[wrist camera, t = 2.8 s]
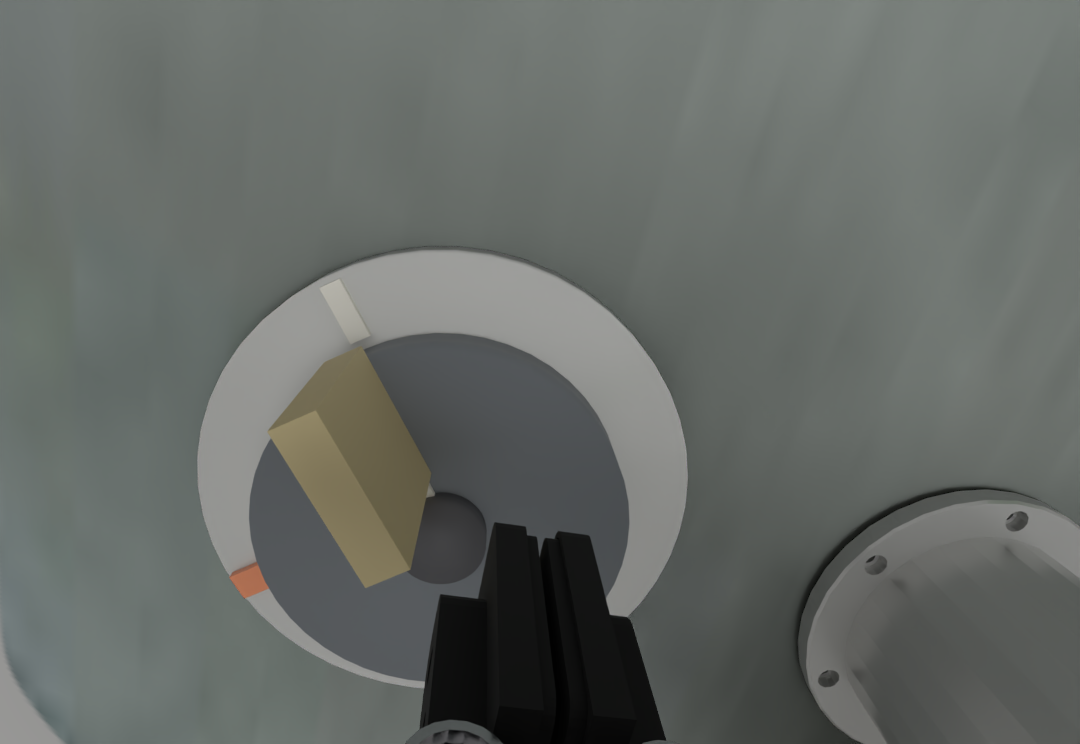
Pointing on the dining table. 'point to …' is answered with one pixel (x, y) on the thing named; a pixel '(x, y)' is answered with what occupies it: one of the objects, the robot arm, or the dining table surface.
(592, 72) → the dining table surface
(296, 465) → the dial
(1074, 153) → the dining table surface
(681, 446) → the plate
